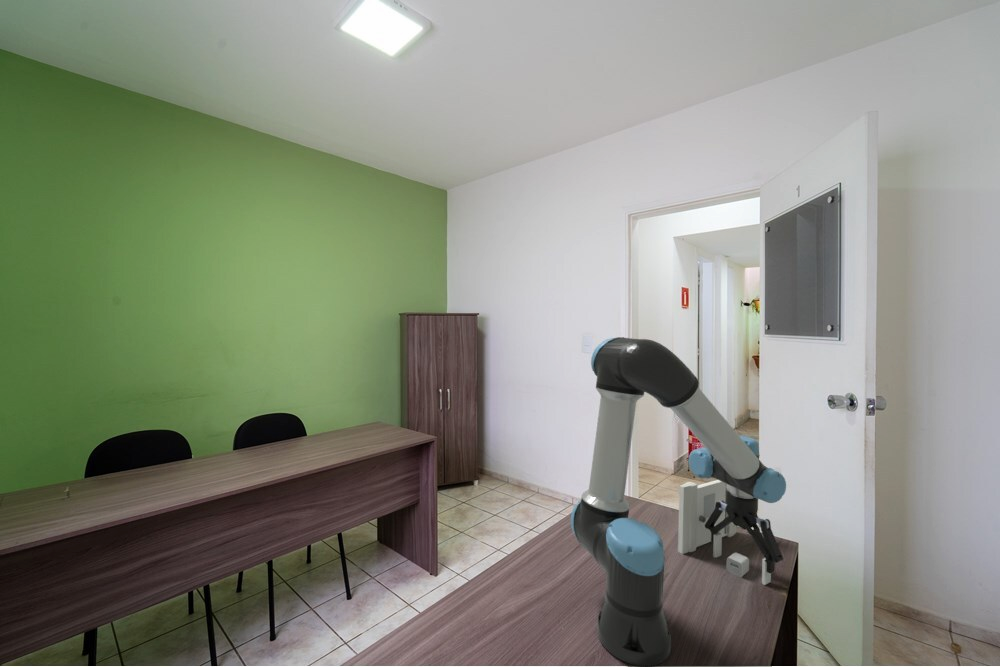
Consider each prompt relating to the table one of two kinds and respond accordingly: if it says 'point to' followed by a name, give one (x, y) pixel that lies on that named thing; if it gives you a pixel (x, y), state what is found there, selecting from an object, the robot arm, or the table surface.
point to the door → (708, 508)
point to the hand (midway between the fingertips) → (740, 568)
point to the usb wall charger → (737, 564)
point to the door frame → (692, 518)
